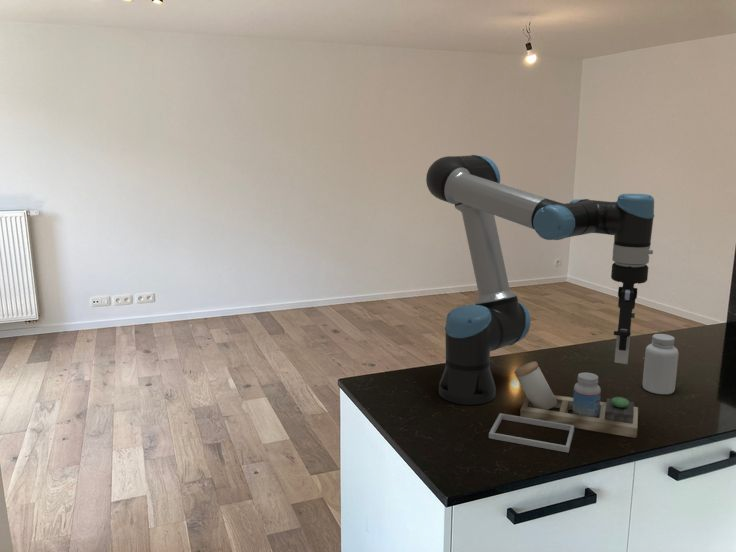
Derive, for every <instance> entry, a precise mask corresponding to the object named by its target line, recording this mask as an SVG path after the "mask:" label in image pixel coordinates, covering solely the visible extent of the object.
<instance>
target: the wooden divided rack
mask: <svg viewBox="0 0 736 552" xmlns="http://www.w3.org/2000/svg"><path fill="white" fill-rule="evenodd" d="M553 395H554V396H555V398H556V400H557V404H556V405H555V406H554V407H553V408H556V409H559V411H557V410H556V411H555V410H550V409H549V410H544V409H537V408H533V407H532V405H531V403H530V401H529V399H528V397H527V396H526V397H525V399H524V401H523V402H522V403H523V404H522V406H521V408H520V413H519V414H520V415H519V416H520V417H526V418H532V419H538V420H544V421H550V422H557V423H563V424H569V425H574V429H581V430H585V431H592V432H597V433H605V434H610V435H616V436H623V437H628V438H634V439H637V437H638V423H639V421H638V420H639V407H638V406H635V402H634V401H629V400H628V401H629V403H628V406H627V407H623V408H622V409H621V408H617V406H614V405H613V404H612V398H606V402H604V401H600V415H599V418H595V417H589V416H582V415H576V414H573V413H568V412H569V411H570V410H571V411H573V398H574V397H571V396H564V395H555V394H553Z"/></svg>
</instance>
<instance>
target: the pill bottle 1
mask: <svg viewBox="0 0 736 552" xmlns="http://www.w3.org/2000/svg"><path fill="white" fill-rule="evenodd" d="M598 383H599V376H598V374H595V373H593V372H592V373H591V372H580V373H578V374H577V382H576V383H575V384H574V387H573V397H572V398H573V410H572V414H576V415H582V416H589V417H595V418H599V416H600V402H601V395H602V389H601V387H600V386H599V384H598Z"/></svg>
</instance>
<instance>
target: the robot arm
mask: <svg viewBox="0 0 736 552" xmlns="http://www.w3.org/2000/svg"><path fill="white" fill-rule="evenodd" d="M425 176H426V178H425V181H426V186H427V189H428V191H429V192H430V194H431V195H432V196H434V197H435V198H436V199H438V200H440V201H443V202H447V203H449V204H452V205H454V208H455V209H456V210H457V211H459V212H461V216H462V220H463V224H464V230H465V233H466V239H467V240H466V241H467V244H468V249H469V254H470V258H471V262H472V267H473V268H472V269H473V272H474V277H475V282H476V288H477V292H478V297H477V298H476V300H475V302H474V303H475V304H468V305H461V306H457V307H455V308H453V309H451V310H450V311H449V312H448V313H447V315H446V320H445V327H444V331H445V367H444V370H443V373H442V375H441V378H440V381H439V383H438V394H439V396H440V397H441V398H442V399H444V400H446V401H448V402H450V403H453V404H458V405H467V406H473V405H475V406H476V405H483V404H486V403H489V402H491V401H492V400H494V399H495V398H496V396H497V395H496V392H497V390H496V384H495V379H494V378H493V374H492V373H493V372H492V371H491V367H490V365H491V364H490V361H491V360H490V359H491V352H493V351H496V350H499V349H500V348H504V347H508V346H512V345H515V344H516V343H518V342H520V341H522V340H523V339H525V338H526V336H527V334H528V333H529V331H530V328H531V316H530V313H529V310H528V308H527V307H526V306H524V304H523V303H522V302H520V301H519V300H518V295H517V293H515V292H514V291H512V290H511V288H510V285H509V280H508V275H507V271H506V270H507V269H506V266H505V260H504V256H503V251H502V245H501V242H500V235H499V234H498V233H499V231H498V227H497V222H496V218H495V217H498V218H502V219H505V220H507V221H510V222H512V223H516V224H518V225H521V226H524V227H526V228H528V229H531V230H534V231H535V233H536V234H537V235H538V236H539V238H541V239H543V240H546V241H559V240H560V241H561V240H564V239H567V238H573V237H577V236H582V235H589V234H601V235H602V234H603V235H610V236H613V238H614V239H613V245H612V246H613V247H612V259H611V260H612V261H613V263H612V264H611V274H610V276H611V277H610V278H611V280H613V281H615V282H617V283H622V286H618V289H617V290H618V291H617V297H618V302H617V303H618V304H617V307H618V308H619V315H618V325H617V330H614V331H613V335H614V336H616V342H615V353H614V361H613V362H614V363H616V364H622V365H623V364H624V365H629V363H628V362H629V354H630V345H631V343H630V342H631V335H632V334H631V333H632V332H631V328H632V319H635V315H636V313H634V312H633V310H635V309H636V308H635V307H636V299H638V288H637V287H635V284H640V285H641V284H644V283H646V282H647V281H648V279H649V278H648V276H649V266H648V265H647V264H648V263H649V261H650V255H653V254H654V251H653V249H651V245H652V243H651V240H652V232H653V227H654V226H653V224H654V218H655V198H654V196H652V195H651V194H647V193H621V194H619V195H618V196H617V200H616V201H605V200H597V199H596V200H594V199H587V198H581V199H577V198H576V199H575V198H574V199H573V200H571V201H570V202H568V203H567V202H566V203H563V202H559V201H556V200H552V199H550V198H547V197H543V196H540V195H537V194H533V193H532V192H527V191H525V190H522V189H519V188H515V187H513V186H508V185H506V184H504V183H503V184H502V183H501V174H500V170H499V167H498V166H497V164H496V163H495V162H494V161H493V159H491V158H489V157H488V156H486V155H485V156H483V155H477V154H471V155H455V156H452V155H450V156H449V155H448V156H443V157H440V158H438V159H436V160H435V161H434V162H432V164H430V166H429V168H428V170H427V173H426V175H425Z"/></svg>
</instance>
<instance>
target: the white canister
mask: <svg viewBox="0 0 736 552" xmlns="http://www.w3.org/2000/svg"><path fill="white" fill-rule="evenodd" d="M514 375H515V377H516V378H517V380H518V382H519V384H520V386H521V388H522V389H523V392H524V393H525V395H526V397H528V399H529V401H530V403H531V408H537V409H544V410H550V409H552V408H555V407H554V406H555V405H556V404H557V400H556V398H555V396H554V395H555V394H554V393H553V391H552V389H551V387H550V385H549V384H548V381H547V380H546V378H545V376H544V374H543V372H542V370H541V368H540V367H539V364H538V362H537V361H530V362H527V363H524V364H523V365H521V366H519V367H518V368H517V369H515V370H514Z"/></svg>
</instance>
